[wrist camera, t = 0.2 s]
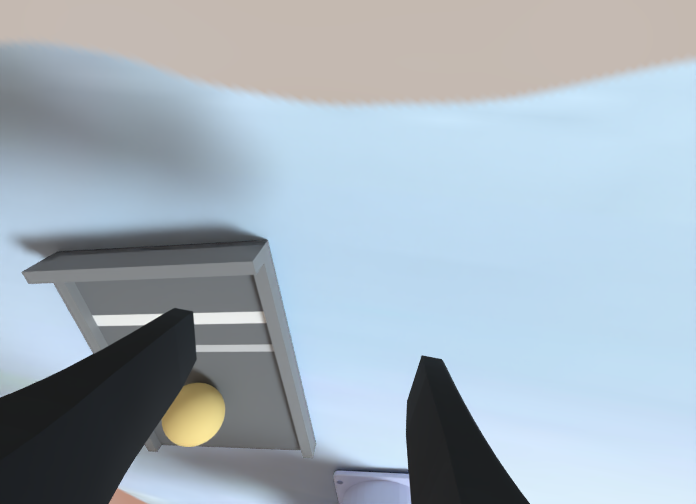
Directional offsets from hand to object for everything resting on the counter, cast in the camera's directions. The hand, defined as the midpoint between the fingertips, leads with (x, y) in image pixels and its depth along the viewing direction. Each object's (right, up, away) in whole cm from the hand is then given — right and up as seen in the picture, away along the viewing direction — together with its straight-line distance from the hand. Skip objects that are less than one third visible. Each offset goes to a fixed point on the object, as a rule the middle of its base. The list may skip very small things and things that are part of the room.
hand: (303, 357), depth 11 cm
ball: (-9, -7, +15) cm, 19 cm away
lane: (-9, -4, +15) cm, 18 cm away
